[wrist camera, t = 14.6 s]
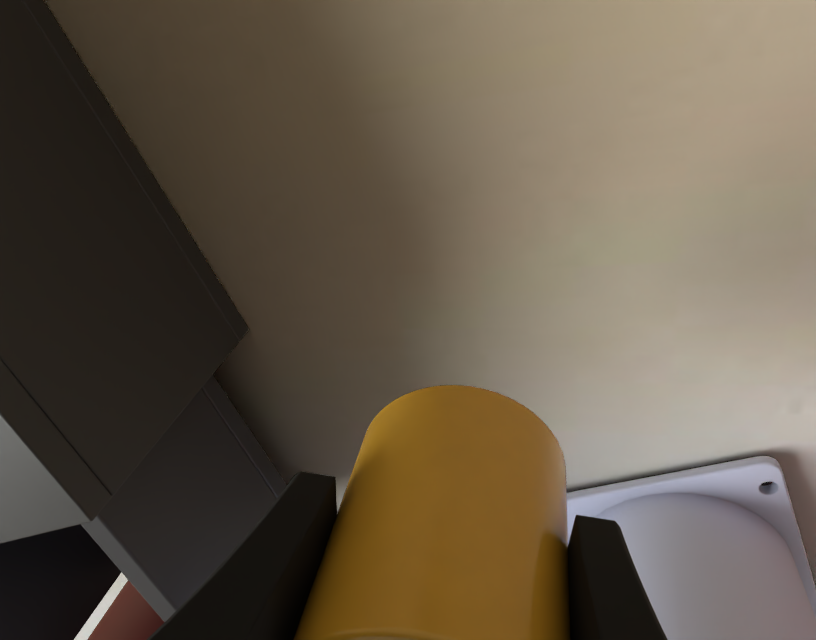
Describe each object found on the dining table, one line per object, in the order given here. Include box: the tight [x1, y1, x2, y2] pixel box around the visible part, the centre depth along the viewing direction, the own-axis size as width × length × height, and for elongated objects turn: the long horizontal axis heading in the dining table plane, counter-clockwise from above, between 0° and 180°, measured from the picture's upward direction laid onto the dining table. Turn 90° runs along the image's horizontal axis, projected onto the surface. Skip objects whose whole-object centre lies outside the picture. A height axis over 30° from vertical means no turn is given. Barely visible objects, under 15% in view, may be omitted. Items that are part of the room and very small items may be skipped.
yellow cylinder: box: [293, 385, 571, 640], centre depth 11 cm, size 4×4×5 cm
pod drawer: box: [0, 375, 287, 640], centre depth 22 cm, size 17×10×7 cm, turn 26°
